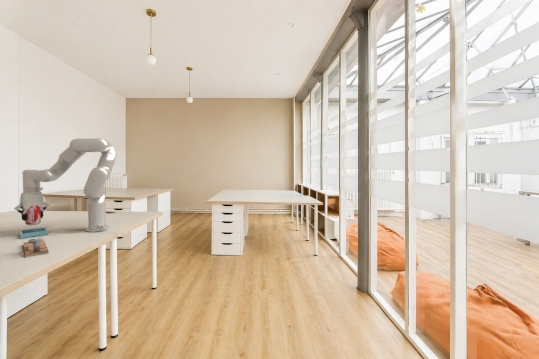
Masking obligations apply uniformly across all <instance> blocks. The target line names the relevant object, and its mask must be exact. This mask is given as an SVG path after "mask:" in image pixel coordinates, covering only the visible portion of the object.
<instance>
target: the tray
mask: <svg viewBox="0 0 539 359" xmlns="http://www.w3.org/2000/svg"><path fill="white" fill-rule="evenodd" d="M48 235H49V230H48V228H47V226H44V227H35V228H28V229H21V230H19V237H20V239H21V240H23V239H28V238H37V237H43V236H48Z"/></svg>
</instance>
